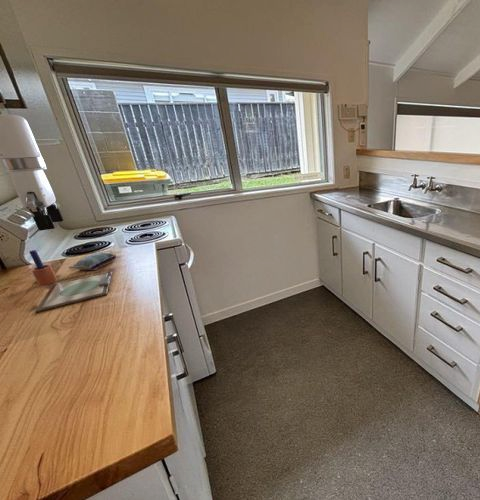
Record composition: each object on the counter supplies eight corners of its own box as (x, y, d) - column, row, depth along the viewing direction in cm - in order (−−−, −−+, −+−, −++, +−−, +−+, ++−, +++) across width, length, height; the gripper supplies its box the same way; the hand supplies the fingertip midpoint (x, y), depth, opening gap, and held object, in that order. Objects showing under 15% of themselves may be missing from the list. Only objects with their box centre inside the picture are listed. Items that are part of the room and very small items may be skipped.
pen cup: (37, 287, 95) (29, 271, 92) (41, 282, 98) (33, 267, 96) (56, 283, 97) (48, 268, 95) (59, 278, 100) (51, 263, 98)
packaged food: (71, 273, 104) (65, 261, 102) (100, 260, 115) (95, 249, 113) (92, 274, 103) (87, 261, 101) (119, 260, 114) (115, 249, 112)
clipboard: (35, 313, 80) (33, 309, 79) (53, 285, 95) (51, 282, 95) (107, 295, 88) (105, 291, 88) (112, 272, 104) (111, 269, 103)
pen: (44, 283, 96) (28, 252, 92) (45, 281, 98) (29, 250, 93) (50, 282, 97) (35, 251, 93) (51, 280, 98) (36, 249, 94)
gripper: (17, 164, 81) (43, 221, 88) (-10, 168, 68) (23, 235, 74) (53, 162, 85) (75, 217, 91) (34, 165, 71) (62, 230, 78)
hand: (52, 225), depth 83 cm, fingers open, 9 cm apart
